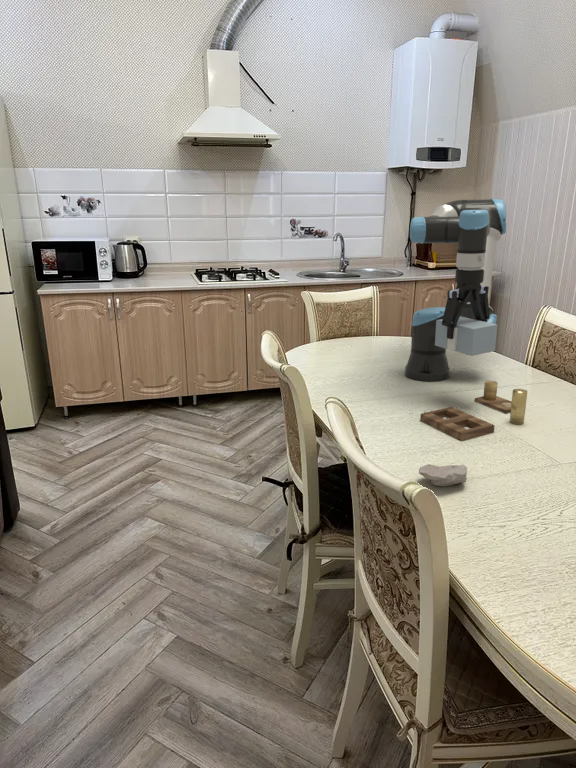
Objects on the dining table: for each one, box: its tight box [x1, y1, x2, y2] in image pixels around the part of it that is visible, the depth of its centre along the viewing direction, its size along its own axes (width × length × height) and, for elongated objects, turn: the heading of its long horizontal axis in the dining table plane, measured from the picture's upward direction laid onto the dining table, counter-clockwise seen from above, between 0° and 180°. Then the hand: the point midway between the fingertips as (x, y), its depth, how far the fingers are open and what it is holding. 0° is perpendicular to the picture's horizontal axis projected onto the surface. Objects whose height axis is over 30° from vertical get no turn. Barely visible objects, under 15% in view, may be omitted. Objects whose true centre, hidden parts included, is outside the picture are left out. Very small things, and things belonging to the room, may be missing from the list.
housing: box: [435, 316, 498, 357], centre depth 159 cm, size 14×9×8 cm, turn 30°
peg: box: [509, 388, 528, 426], centre depth 148 cm, size 4×4×9 cm
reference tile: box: [474, 380, 512, 414], centre depth 162 cm, size 12×7×6 cm, turn 27°
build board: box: [419, 406, 495, 442], centre depth 148 cm, size 16×11×2 cm
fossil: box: [418, 464, 468, 487], centre depth 118 cm, size 9×6×10 cm
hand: (464, 346), depth 160 cm, fingers closed on housing, 9 cm apart
